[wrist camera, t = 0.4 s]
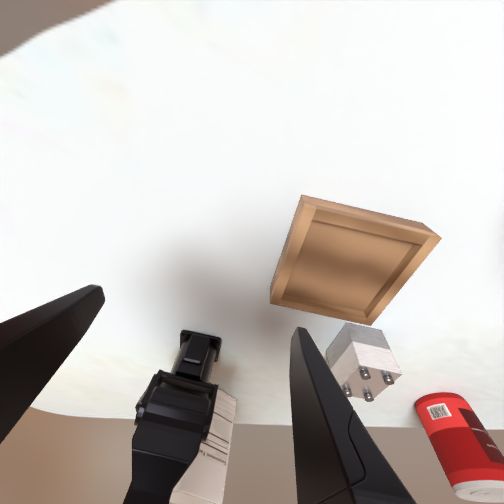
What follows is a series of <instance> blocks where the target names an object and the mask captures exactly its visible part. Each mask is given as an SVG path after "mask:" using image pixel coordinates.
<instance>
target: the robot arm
mask: <svg viewBox="0 0 504 504" xmlns="http://www.w3.org/2000/svg"><path fill="white" fill-rule="evenodd" d="M104 302H105V296H104V293H103V289H102V287H101V286H98V285H93V284H92V285H88V286H86V287H83V288H81V289H79V290H76V291H74V292H72V293H69V294H67V295H65V296H62V297H60V298H58V299H55V300H53V301H51V302H48V303H46V304H44V305H42V306H39V307H37V308H35V309H32V310H30V311H28V312H25V313H23V314H21V315H18V316H16V317H14V318H11V319H9V320H7V321H4V322H2V323H0V444H1V442H2V441H3V440H4V439H5V437H6V436H7V435H8V434H9V432H10V431H11V430H12V428H13V427H14V426H15V424H16V423H17V422H18V421H19V419H20V418H21V417H22V415H23V414H24V412H25V411H26V410H27V409H28V407H29V406H30V405H31V404H32V402H33V401H34V400H35V398H36V397H37V396H38V395H39V393H40V392H41V391H42V389H43V388H44V387H45V385H46V384H47V383H48V382H49V380H50V379H51V378H52V376H53V375H54V374H55V372H56V371H57V370H58V369H59V367H60V366H61V365H62V363H63V362H64V361H65V359H66V358H67V357H68V356H69V354H70V353H71V352H72V350H73V349H74V348H75V346H76V345H77V344H78V343H79V341H80V340H81V339H82V337H83V336H84V334H85V333H86V332H87V330H88V328H89V327H90V325H91V324H92V322H93V320H94V319H95V317H96V316H97V314H98V312H99V311H100V309H101V308H102V306H103V304H104ZM220 344H221V339H220V338H217V337H213V336H208V335H203V334H199V333H194V332H189V331H185V330H182V331H181V333H180V351H179V353H178V355H177V358H176V360H175V363H174V365H173V367H172V370H171V372H170V373H168V372H164V371H163V370H159V371H158V373H157V374H154V376H153V378H152V380H151V382H150V384H149V386H148V388H147V389H146V391H145V392H144V394H143V395H142V397H141V398H140V400H139V401H138V403H137V405H136V407H135V408H136V412H137V414H136V419H135V423H134V425H136V426H137V428H136V431H135V433H134V435H133V438H132V482H131V484H130V487H129V490H128V492H127V494H126V497H125V499H124V502H123V504H169V501H170V497H171V494H172V491H173V489H174V488H175V486H176V485H177V483H178V482H179V481H180V479H181V478H182V477H183V475H184V474H185V472H186V471H187V470H188V468H189V467H190V465H191V464H192V463H193V461H194V460H195V458H196V457H197V455H198V452H199V448H200V444H201V441H202V442H206V440H207V437H208V434H209V430H210V426H211V422H212V418H213V413H214V407H215V402H216V396H217V390H218V385H216V384H215V385H214V384H210V383H208V382H209V378H210V375H211V371H212V367H213V363H214V362H217V359H218V354H219V349H220ZM289 377H290V394H291V409H292V425H293V439H294V454H295V470H296V485H297V500H298V504H417V503H416V502H415V500H414V499H413V498H412V496H411V495H410V493H409V492H408V491H407V489H406V488H405V486H404V485H403V483H402V482H401V480H400V479H399V477H398V476H397V474H396V473H395V472H394V471H393V469H392V467H391V466H390V465H389V463H388V462H387V460H386V459H385V457H384V456H383V454H382V453H381V451H380V450H379V448H378V447H377V445H376V444H375V443H374V441H373V439H372V438H371V436H370V435H369V433H368V431H367V430H366V428H365V427H364V425H363V423H362V422H361V420H360V418H359V417H358V415H357V413H356V412H355V410H353V407H352V405H351V403H350V402H349V400H348V398H347V397H346V395H345V393H344V392H343V390H342V388H341V387H340V385H339V383H338V382H337V380H336V378H335V377H334V375H333V373H332V372H331V370H330V368H329V366H328V365H327V363H326V361H325V360H324V358H323V356H322V355H321V353H320V351H319V350H318V348H317V346H316V345H315V343H314V341H313V340H312V338H311V336H310V335H309V333H308V331H307V330H306V329H305V328H301V327H297V328H296V329H295V331H294V334H293V336H292V338H291V349H290V374H289Z"/></svg>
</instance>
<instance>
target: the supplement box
mask: <svg viewBox="0 0 504 504" xmlns="http://www.w3.org/2000/svg"><path fill="white" fill-rule="evenodd" d="M208 383H209V382H208ZM236 402H237V400H236V399H234V398H233V397H231V396H230V395H228V394H226V393H225V392H223V391H222V390H220V389H218V390H217V396H216V402H215V407H214V413H213V418H212V422H211V426H210V430H209V434H208V437H207V440H206V442H202V441H201V444H200V448H199V452H198V455H197V457H196V458H195V460H194V461H193V463H192V464H191V465H190V467H189V468H188V470H187V471H186V472H185V474H184V475H183V477H182V478H181V479H180V481H179V482H178V483H177V485H176V486H175V488H174V489H173V491H172V494H171V497H170V501H169V502H171V503H174V504H222V501H223V494H224V487H225V479H226V472H227V466H228V459H229V451H230V444H231V437H232V429H233V423H234V416H235V409H236Z"/></svg>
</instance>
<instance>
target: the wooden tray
mask: <svg viewBox="0 0 504 504" xmlns="http://www.w3.org/2000/svg"><path fill="white" fill-rule="evenodd" d="M441 239H442V238H441V237H440V236H439V235H437V234H436V233H435V232H433V231H432V230H431V229H429V228H428V227H427V226H426V225H424V224H423V223H420V222H416V221H412V220H407V219H403V218H399V217H395V216H390V215H386V214H382V213H378V212H373V211H369V210H365V209H360V208H356V207H352V206H348V205H343V204H339V203H335V202H331V201H326V200H322V199H318V198H314V197H309V196H305V195H301V198H300V201H299V204H298V207H297V210H296V213H295V216H294V218H293V221H292V224H291V227H290V230H289V233H288V236H287V239H286V242H285V245H284V248H283V251H282V254H281V257H280V260H279V263H278V266H277V269H276V272H275V275H274V278H273V281H272V283H271V291H270V304H275V305H279V306H284V307H288V308H293V309H297V310H302V311H306V312H311V313H315V314H320V315H324V316H329V317H333V318H338V319H342V320H347V321H351V322H356V323H360V324H365V325H369V326H371V325H372V324H373V322H374V321H375V320H376V319H377V317H378V316H379V315H380V314H381V313H382V311H383V310H384V309H385V308H386V306H387V305H388V304H389V303H390V301H391V300H392V299H393V298H394V297H395V295H396V294H397V293H398V292H399V290H400V289H401V288H402V287H403V285H404V284H405V283H406V282H407V281H408V279H409V278H410V277H411V276H412V274H413V273H414V272H415V271H416V270H417V268H418V267H419V266H420V265H421V263H422V262H423V261H424V260H425V258H426V257H427V256H428V255H429V254H430V252H431V251H432V250H433V249H434V247H435V246H436V245H437V244H438V242H439V241H440V240H441Z"/></svg>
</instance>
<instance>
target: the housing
mask: <svg viewBox="0 0 504 504" xmlns="http://www.w3.org/2000/svg"><path fill="white" fill-rule="evenodd" d="M326 352H327V357H328V362H329V366H330V370H331V372H332V373H333V375H334V377H335V378H336V380H337V382H338V383H339V385H340V387H341V388H342V390H343V392H344V393H345V395H346V397H351V396H353V397H358V398H363V399H365V401H367V402H371V401H373V400H374V399H373V398H375V397H376V396H377V395H378V394H379V393H381V392H382V391H383V390H384V389H385V388H387V387H388V386H389V385H392V384H394V381H395V380H396V379H397V378H398V377H400V376H401V375H402V372H401V370H400V368H399V366H398V364H397V362H396V360H395V358H394V356H393V354H392V351H391V349H390V347H389V345H388V343H387V341H386V339H385V337H384V335H383V333H382V330H378V329H374V328H369V327H365V326H360V325H356V324H351V323H347V322H346V323H345V325H344V326H343V328H342V329H341V331H340V332H339V333H338V335H337V336H336V338H335V339H334V341H333V342H332V343H331V345H330V346H329V348H328V349H327V351H326Z"/></svg>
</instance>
